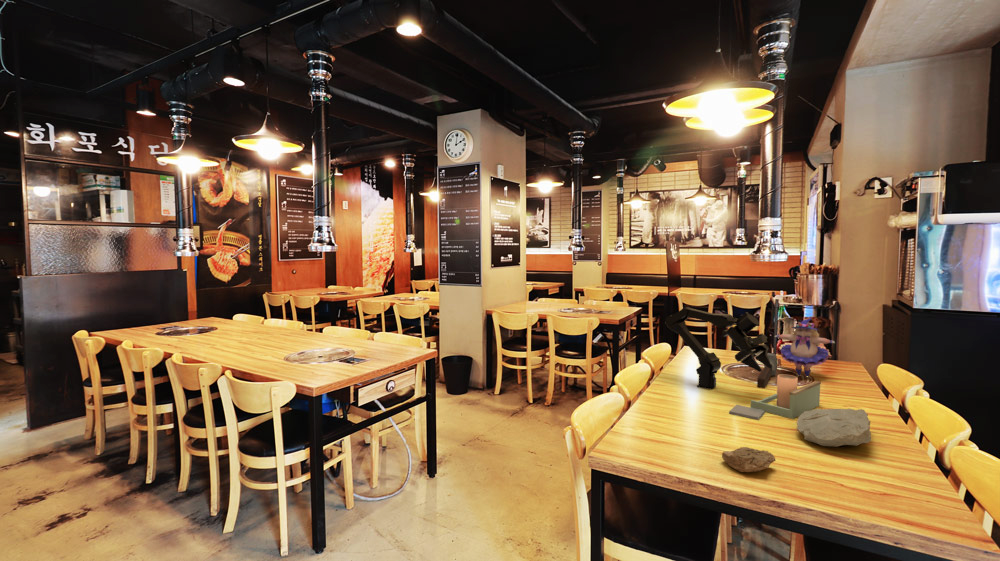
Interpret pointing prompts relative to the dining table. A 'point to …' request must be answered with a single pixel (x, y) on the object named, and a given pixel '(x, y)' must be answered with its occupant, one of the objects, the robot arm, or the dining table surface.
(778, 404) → the pink cup
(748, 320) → the robot arm
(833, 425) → the stone
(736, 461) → the rock
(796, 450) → the dining table surface
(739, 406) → the metal tile
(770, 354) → the hammer
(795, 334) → the toy
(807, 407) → the cold frame
